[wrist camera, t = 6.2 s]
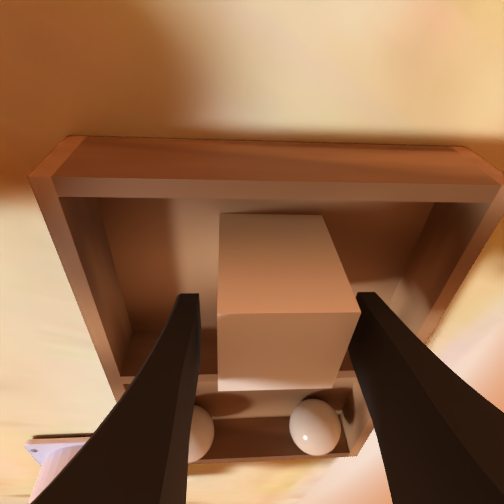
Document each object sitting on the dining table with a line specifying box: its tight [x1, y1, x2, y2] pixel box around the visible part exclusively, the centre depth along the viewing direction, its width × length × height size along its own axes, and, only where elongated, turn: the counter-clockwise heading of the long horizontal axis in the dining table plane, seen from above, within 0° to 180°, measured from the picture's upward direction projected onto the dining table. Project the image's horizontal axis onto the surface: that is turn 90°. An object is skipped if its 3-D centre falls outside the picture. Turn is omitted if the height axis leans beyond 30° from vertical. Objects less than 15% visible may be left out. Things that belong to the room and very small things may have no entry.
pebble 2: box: [289, 399, 341, 456], centre depth 21 cm, size 3×3×3 cm
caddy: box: [27, 136, 504, 464], centre depth 17 cm, size 20×14×3 cm
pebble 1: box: [188, 405, 214, 463], centre depth 21 cm, size 3×3×3 cm
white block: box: [217, 213, 361, 391], centre depth 12 cm, size 4×4×5 cm
